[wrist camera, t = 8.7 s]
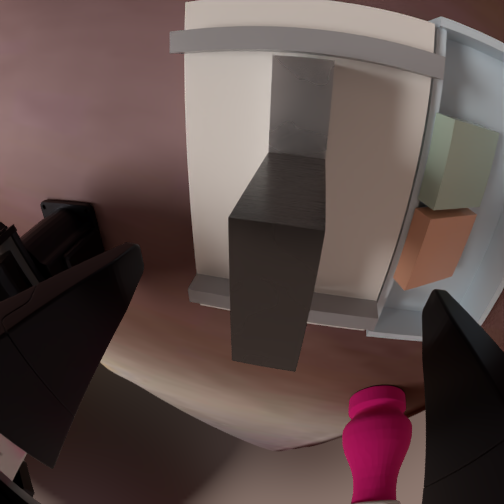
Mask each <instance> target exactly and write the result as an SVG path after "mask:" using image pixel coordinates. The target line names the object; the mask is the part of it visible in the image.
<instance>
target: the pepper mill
mask: <svg viewBox="0 0 504 504" xmlns="http://www.w3.org/2000/svg"><path fill="white" fill-rule="evenodd" d="M405 410H406V399H405V393H404V392H403V391H402V390H401V389H399V388H397V387H394V386H387V385H380V386H373V387H369V388H366V389H363V390H360V391H359V392H357V393H355V394H354V395H353V396H352V397H351V398H350V401H349V417H350V418H351V419H352V420H351V421H350V422H349V423H348V424H347V425H346V427H345V428H344V430H343V448H344V453H345V455H346V458H347V460H348V463H349V465H350V468H351V471H352V476H353V497H352V502H351V504H400V502H399V501H397V500H396V483H397V477H398V473H399V469H400V467H401V465H402V462H403V460H404V457H405V455H406V453H407V450H408V448H409V445H410V441H411V436H412V424H411V422H410V420H409V419H408V418H407V417H406V416H405V415H404V414H403V413H404V412H405Z"/></svg>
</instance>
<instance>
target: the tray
mask: <svg viewBox="0 0 504 504" xmlns="http://www.w3.org/2000/svg"><path fill="white" fill-rule="evenodd" d="M428 22H431V23H434V24H435V36H434V53H435V54H438V55H441V56H444V57H446V58H445V69H444V79H443V80H441V79H434V78H431V85H430V93H429V101H428V108H427V114H426V121H425V127H424V132H423V138H422V143H421V148H420V153H419V158H418V163H417V167H416V172H415V176H414V181H413V185H412V189H411V193H410V197H409V201H408V204H407V208H406V212H405V215H404V219H403V223H402V226H401V229H400V233H399V236H398V239H397V243H396V246H395V249H394V252H393V255H392V258H391V261H390V264H389V267H388V270H387V273H386V276H385V279H384V282H383V284H382V287H381V290H380V292H379V295H378V298H377V300H376V302H377V310H378V318H379V319H378V321H377V324H376V326H375V328H374V331H372V330H366V336H370V337H380V338H390V339H400V340H411V341H422V311H423V308H424V306H425V304H426V302H427V300H428V298H429V296H430V294H431V292H432V291H433V290H434V289H441V290H446V291H447V292H448V293H449V294H450V295H451V296H452V297H453V298H454V299H455V300H456V301H457V302H458V303H459V304H460V305H461V306H462V307H463V308H464V309H465V310H466V311H467V312H468V313H469V314H470V315H471V317H472V318H473V319H474V320H475V321H476V322H477V323H478V324H479V325H480V326H481V325H482V323H483V322H484V320H485V319H486V317H487V316H488V314H489V312H490V311H491V309H492V307H493V306H494V304H495V302H496V301H497V299H498V297H499V295H500V294H501V292H502V290H503V288H504V43H502V42H500V41H498V40H496V39H494V38H492V37H490V36H488V35H486V34H484V33H482V32H479V31H477V30H475V29H472V28H470V27H468V26H465V25H463V24H460V23H458V22H455V21H453V20H450V19H447V18H444V17H442V16H441V17H438V18H435V19H433V20H430V21H428ZM436 112H437V113H441V114H444V115H448V116H452V117H456V118H459V119H463V120H466V121H469V122H473V123H476V124H479V125H482V126H485V127H487V128H489V129H491V130H494V131H496V132H498V133H499V138H498V142H497V147H496V151H495V155H494V159H493V163H492V167H491V171H490V175H489V178H488V182H487V185H486V189H485V192H484V195H483V198H482V201H481V204H480V207H472V208H469V209H470V210H471V211H473V212H474V213H476V214H477V216H476V219H475V222H474V224H473V227H472V230H471V232H470V235H469V238H468V240H467V243H466V245H465V248H464V250H463V252H462V255H461V257H460V260H459V262H458V264H457V266H456V269H455V271H454V273H453V275H452V276H451V277H448V278H445V279H442V280H439V281H436V282H432V283H429V284H426V285H423V286H419V287H416V288H412V289H409V290H405V291H404V290H403V289H402V288H401V286H400V285H399V284H398V283H397V282H396V281H395V280H394V278H393V276H394V273H395V270H396V267H397V265H398V262H399V259H400V256H401V253H402V250H403V247H404V244H405V241H406V238H407V234H408V231H409V228H410V225H411V221H412V218H413V215H414V211H415V208H421V207H428V206H427V205H425V204H424V203H423V202H421V201H420V200H418V196H419V193H420V189H421V185H422V181H423V177H424V172H425V168H426V164H427V159H428V155H429V150H430V145H431V140H432V134H433V129H434V123H435V117H436Z"/></svg>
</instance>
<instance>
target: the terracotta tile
mask: <svg viewBox="0 0 504 504" xmlns="http://www.w3.org/2000/svg"><path fill="white" fill-rule="evenodd" d="M476 216H477V214H476V213H474V212H473V211H471V210H470V209H469V208H458V209H445V210H432V209H431V208H429V207H421V208H415V211H414V215H413V218H412V221H411V225H410V228H409V231H408V234H407V238H406V241H405V244H404V247H403V250H402V253H401V256H400V259H399V262H398V265H397V267H396V270H395V273H394V276H393V278H394V280H395V281H396V282H397V283H398V284H399V285H400V286H401V288H402V289H403V290H404V291H405V290H409V289H412V288H416V287H419V286H423V285H426V284H429V283H432V282H436V281H439V280H442V279H445V278H448V277H451V276H452V275H453V273H454V271H455V269H456V266H457V264H458V262H459V260H460V257H461V255H462V252H463V250H464V248H465V245H466V243H467V240H468V238H469V235H470V232H471V230H472V227H473V224H474V222H475V219H476Z"/></svg>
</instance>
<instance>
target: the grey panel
mask: <svg viewBox="0 0 504 504" xmlns="http://www.w3.org/2000/svg"><path fill="white" fill-rule="evenodd" d="M333 75H334V61H333V60H325V59H316V58H307V57H295V56H280V55H272V81H271V104H270V127H269V148H268V154H267V155H266V157H265V158H264V160H263V162H262V163H261V165H260V166H259V168H258V170H257V171H256V173H255V174H254V176H253V178H252V179H251V181H250V183H249V184H248V186H247V187H246V189H245V191H244V192H243V194H242V196H241V197H240V199H239V201H238V202H237V204H236V205H235V207H234V209H233V210H232V212H231V214H230V215H229V217H228V239H229V283H230V317H231V345H232V360H233V361H238V362H243V363H248V364H253V365H258V366H264V367H270V368H276V369H282V370H288V371H294V372H295V371H296V367H297V363H298V359H299V355H300V351H301V347H302V343H303V338H304V334H305V330H306V325H307V321H308V316H309V312H310V307H311V303H312V298H313V293H314V288H315V283H316V278H317V273H318V268H319V263H320V258H321V252H322V247H323V241H324V236H325V224H326V169H325V158H326V149H327V140H328V131H329V121H330V110H331V99H332V88H333Z"/></svg>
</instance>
